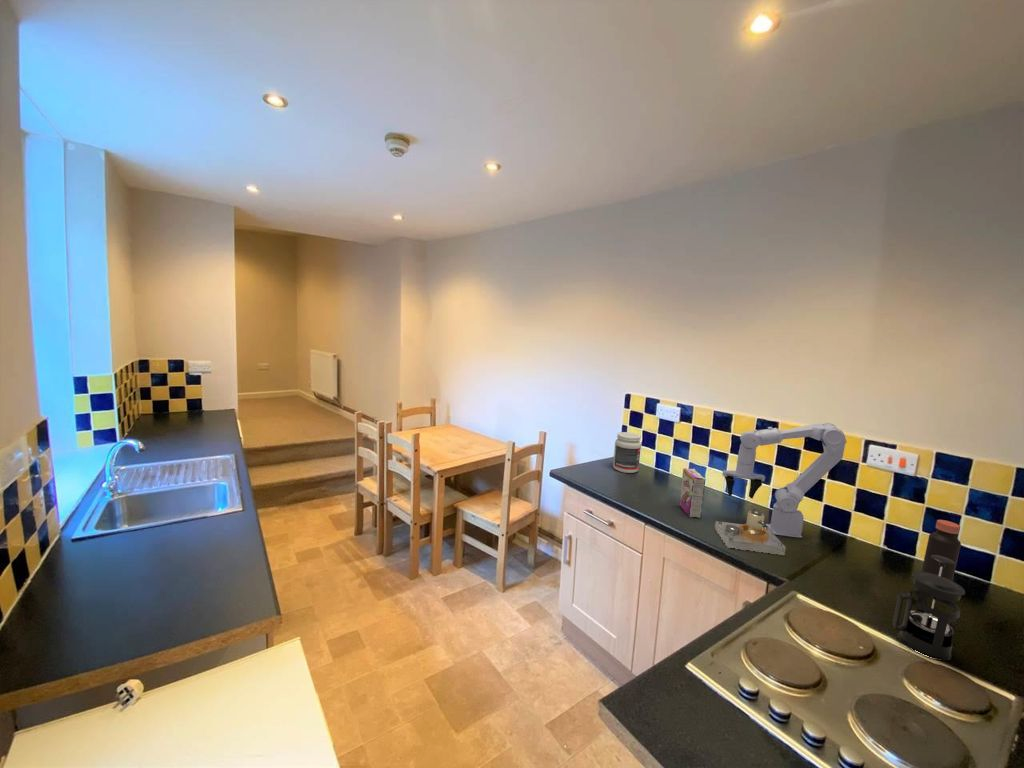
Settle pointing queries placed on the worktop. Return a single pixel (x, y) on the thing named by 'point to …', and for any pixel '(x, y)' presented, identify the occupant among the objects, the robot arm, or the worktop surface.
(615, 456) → the supplement tub
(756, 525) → the tan piece
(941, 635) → the french press
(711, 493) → the worktop surface
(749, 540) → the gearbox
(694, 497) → the candy bar box
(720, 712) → the worktop surface
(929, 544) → the bottle
